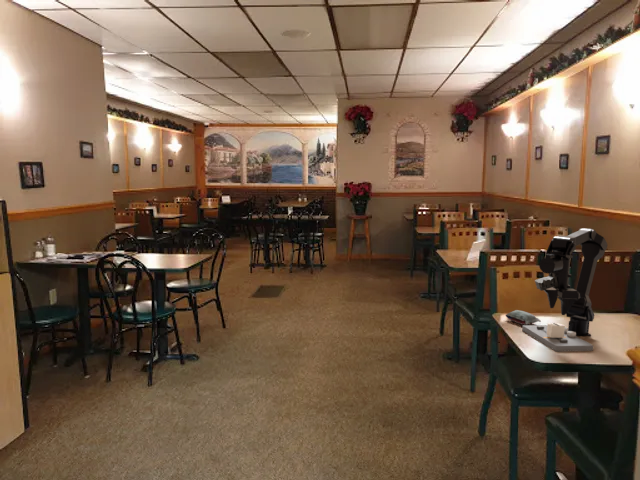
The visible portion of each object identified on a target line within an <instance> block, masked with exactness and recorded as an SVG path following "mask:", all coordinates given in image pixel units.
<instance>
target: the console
mask: <svg viewBox="0 0 640 480" xmlns="http://www.w3.org/2000/svg"><path fill="white" fill-rule="evenodd" d="M521 325H522V326H521V331H522V332H524V333H526V334H528V335H529V336H531V337H532V338H534V339H535V340H537V341H538V342H540V343H542V344H543V345H544V346H546V347H548V348H550V349H551V350H553V351H554V352H591V351H593V352H594V345H593V344H592V343H590V342H588V341H586V340H584V339H582V338H581V337H579V336H576V332H573V331H568V327H566V326H565V331H564V337H559V338H551V337H549V336H548V335H547V326H548V324H544V325H543V324H542V325H540V324H538V325H537V324H536V325H535V324H533V325H532V324H528V325H523V324H521Z"/></svg>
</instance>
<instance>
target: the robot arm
mask: <svg viewBox="0 0 640 480" xmlns="http://www.w3.org/2000/svg"><path fill="white" fill-rule="evenodd" d="M579 245H580V247H581V250H580V251H581V253H582V256H583V261H582V264H581V268H580V272H579V277H578V281H577V284H576V288H575V289H574V288H571V285H570V284H569V281H570V280H569V279H570V278H572V274H570V270H571V269H570V266H571V259H573V257H574V256H573V255H572V254H573V252H575V250H576V248H577V246H579ZM607 249H608V242H607V240H606V239H605V237H604V236H602V235H601V234H599V233H597V231H596V230H595V229H593V228H584V227H583V228H579V230H578V231H575V232H572V233H570V234H569V235H557V236H553V238H552V239H551V240H550V242H549V245H548V247H547V249H546V251H545V256H544V258H542V259H541V260H540V262H539V263H538V267H539V269H540V271H541V272H542V273H544V274H548V276H544V277H540V278H537V279H535V280H534V283H535V286H536V289H537V290H539V291H540V292H541V291H543V292H544V293H545V294H546V296H547V301H548V303H549V304H548V306H549V308H550V309H554V308H555V306H556V303H557V301H558V300H559V301H560V311H561V314H560V315H561V316H565V315H566V317H567V318H569V321H568V326H567V328H568V331H573V332H576V336H577V337H579V336H580V337H581V336H583V337H584V336H592V334H591V333H589V328H590V323H591V322H592V323H593V321H594V319H595V313H594V311H593V308H592V301H591V299H590V292H591V287H592V283H593V279H594V276H595V272H596V268H597V264H598V261H599V260H600V259H601V258H602V257H603V256H604V255H605V252H606V250H607Z"/></svg>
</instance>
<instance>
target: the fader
mask: <svg viewBox="0 0 640 480" xmlns="http://www.w3.org/2000/svg"><path fill="white" fill-rule="evenodd" d="M547 325H548V326H547V335H548V336H549V337H551V338H559V337H564V331H565V327H566V325H564V324H562V323H560V322H559V323H558V322H557V323H555V322H552V323H551V322H550V323H547Z"/></svg>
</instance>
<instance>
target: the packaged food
mask: <svg viewBox="0 0 640 480" xmlns="http://www.w3.org/2000/svg"><path fill="white" fill-rule="evenodd" d="M505 317H507V319H508V321H509V320H510V321H512V322H515V323H517V324H520V325H532V324H535V323H537V322H540V323H541V322H542V321H541V320H540V318H538V317H536V315H534V314H532V313H530V312H527V311H524V310H518V309H515V310H513V311H510V312H509V313H507V314H505Z"/></svg>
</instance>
